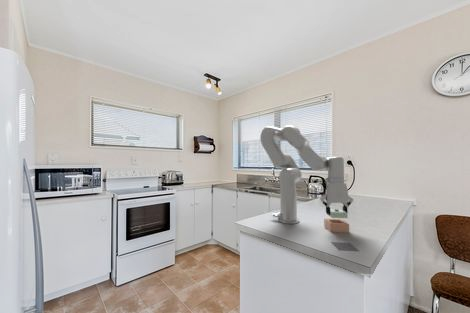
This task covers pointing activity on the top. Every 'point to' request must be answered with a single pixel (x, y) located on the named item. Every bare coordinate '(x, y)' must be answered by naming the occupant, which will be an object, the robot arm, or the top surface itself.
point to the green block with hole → (338, 213)
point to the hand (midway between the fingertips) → (336, 214)
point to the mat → (344, 246)
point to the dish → (336, 225)
